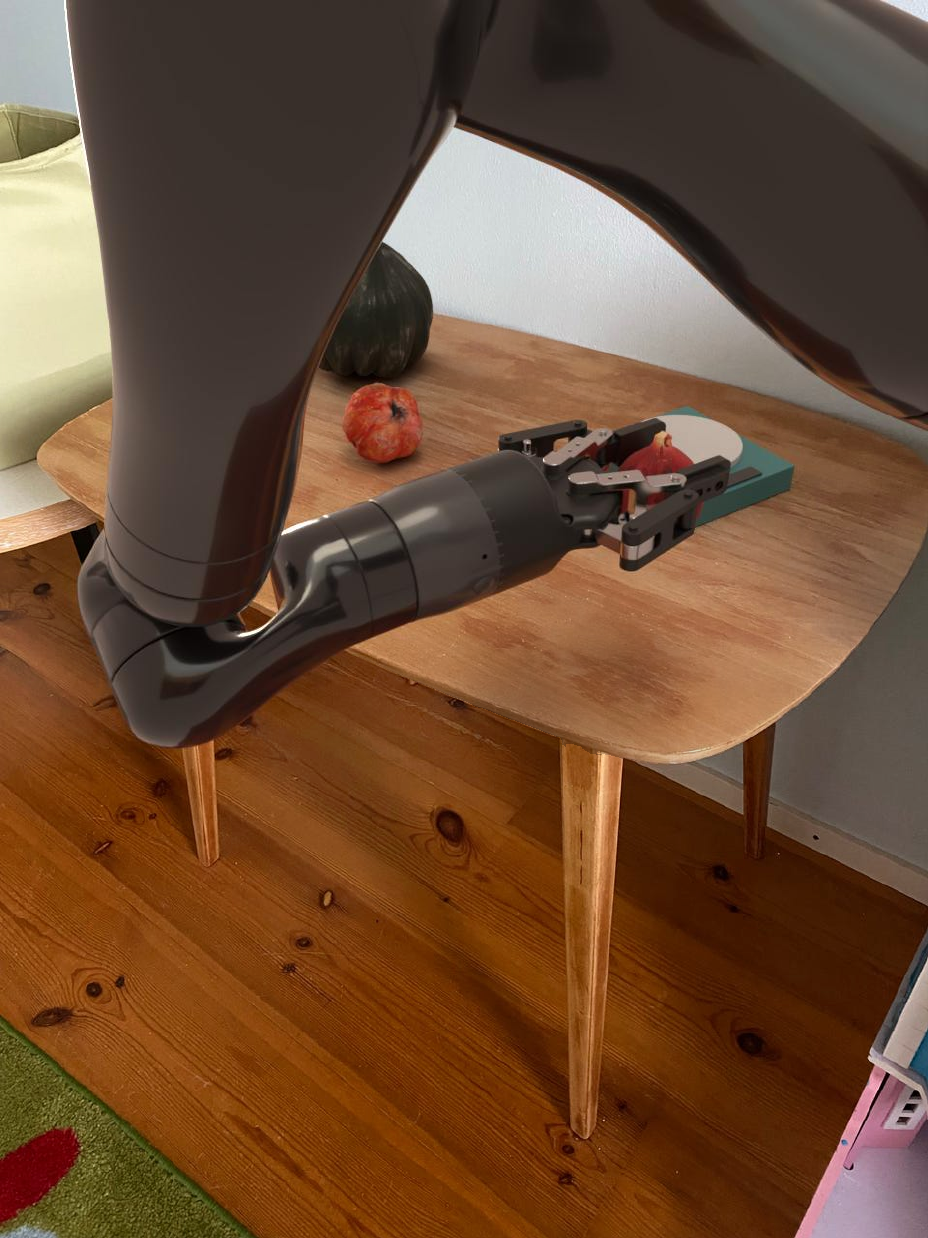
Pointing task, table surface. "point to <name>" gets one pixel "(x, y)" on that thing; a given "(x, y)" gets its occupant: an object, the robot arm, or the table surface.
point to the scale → (750, 463)
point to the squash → (382, 320)
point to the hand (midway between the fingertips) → (691, 452)
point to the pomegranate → (383, 422)
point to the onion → (656, 465)
